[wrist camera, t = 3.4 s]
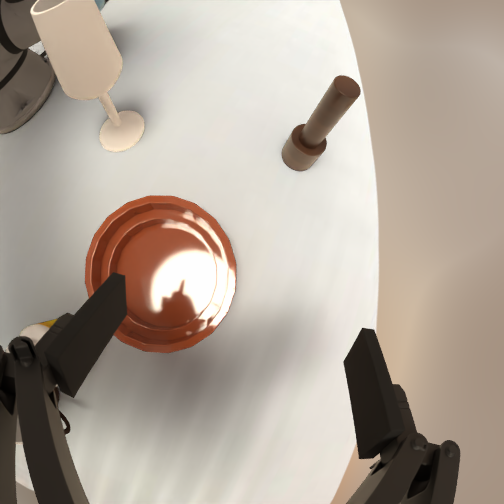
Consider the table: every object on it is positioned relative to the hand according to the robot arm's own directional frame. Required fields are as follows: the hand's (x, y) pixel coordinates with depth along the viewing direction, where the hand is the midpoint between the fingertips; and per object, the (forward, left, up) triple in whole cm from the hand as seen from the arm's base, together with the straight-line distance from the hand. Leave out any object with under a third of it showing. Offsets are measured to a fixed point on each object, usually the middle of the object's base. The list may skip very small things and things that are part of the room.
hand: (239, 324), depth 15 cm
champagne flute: (-22, -15, -19) cm, 33 cm away
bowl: (-3, -7, -19) cm, 20 cm away
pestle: (-19, +9, -19) cm, 28 cm away
